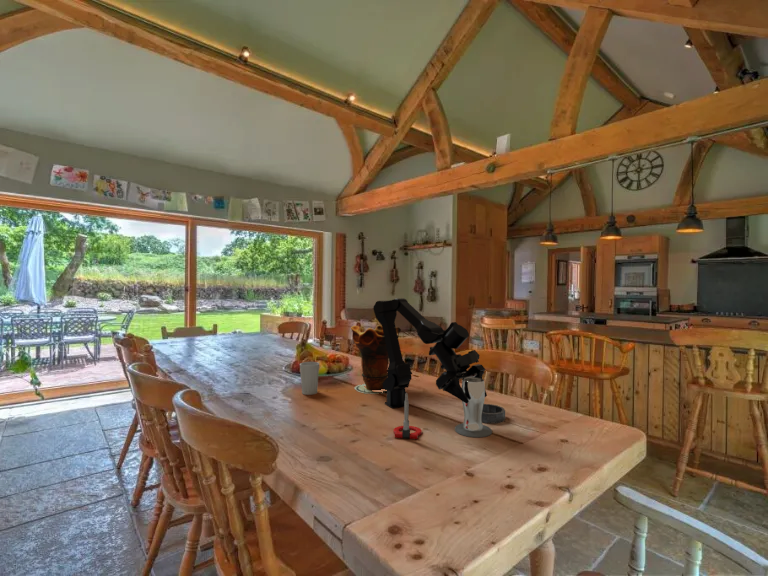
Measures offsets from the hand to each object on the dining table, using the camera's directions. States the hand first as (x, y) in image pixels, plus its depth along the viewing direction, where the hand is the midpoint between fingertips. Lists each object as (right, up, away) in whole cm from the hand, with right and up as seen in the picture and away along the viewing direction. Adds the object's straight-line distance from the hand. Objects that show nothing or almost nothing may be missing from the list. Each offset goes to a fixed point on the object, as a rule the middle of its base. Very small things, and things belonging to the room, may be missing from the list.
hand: (477, 399), depth 117 cm
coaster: (-1, -10, +1) cm, 10 cm away
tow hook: (-21, -10, -1) cm, 23 cm away
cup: (-59, -10, +44) cm, 74 cm away
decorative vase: (-32, -10, +50) cm, 61 cm away
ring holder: (+7, -10, +13) cm, 17 cm away
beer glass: (-1, -9, +1) cm, 10 cm away
